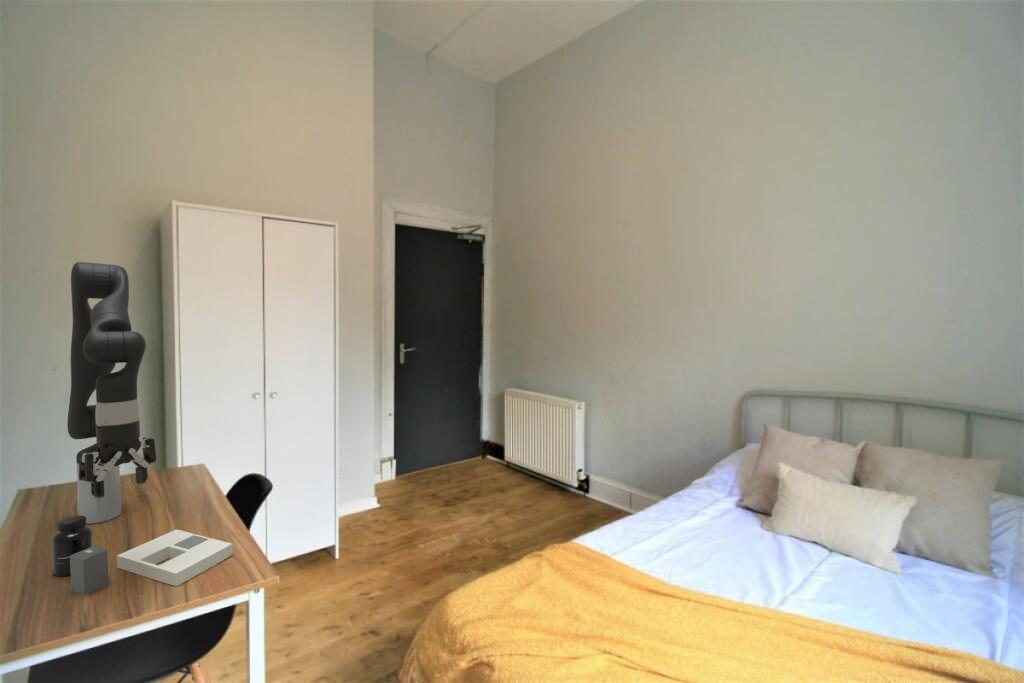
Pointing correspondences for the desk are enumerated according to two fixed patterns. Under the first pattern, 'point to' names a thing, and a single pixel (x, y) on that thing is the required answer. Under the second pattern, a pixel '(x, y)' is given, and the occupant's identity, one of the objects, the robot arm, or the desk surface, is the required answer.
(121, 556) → the outlet plate
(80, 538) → the supplement bottle
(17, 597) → the desk surface
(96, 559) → the charger
